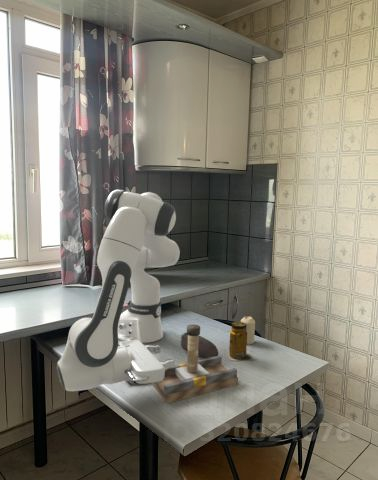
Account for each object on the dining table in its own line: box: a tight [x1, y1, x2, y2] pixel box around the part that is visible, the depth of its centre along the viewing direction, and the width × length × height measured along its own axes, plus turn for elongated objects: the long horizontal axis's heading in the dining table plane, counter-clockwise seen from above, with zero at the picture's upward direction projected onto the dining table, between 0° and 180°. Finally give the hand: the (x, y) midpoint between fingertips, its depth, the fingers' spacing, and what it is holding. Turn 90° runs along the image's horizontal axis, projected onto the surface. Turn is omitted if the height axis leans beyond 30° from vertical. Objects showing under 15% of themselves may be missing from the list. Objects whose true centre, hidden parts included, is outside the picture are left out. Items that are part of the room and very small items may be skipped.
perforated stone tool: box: [180, 332, 219, 359], centre depth 133 cm, size 15×5×7 cm, turn 53°
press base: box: [150, 355, 239, 404], centre depth 115 cm, size 24×12×4 cm, turn 117°
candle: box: [240, 315, 256, 345], centre depth 146 cm, size 6×6×10 cm
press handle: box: [175, 324, 209, 381], centre depth 113 cm, size 8×7×16 cm
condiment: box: [226, 321, 255, 362], centre depth 133 cm, size 7×8×12 cm
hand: (166, 355), depth 109 cm, fingers open, 8 cm apart
